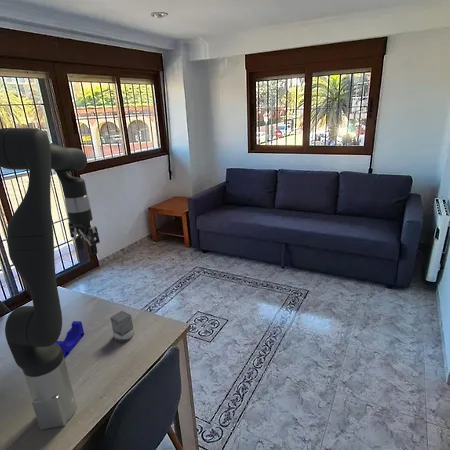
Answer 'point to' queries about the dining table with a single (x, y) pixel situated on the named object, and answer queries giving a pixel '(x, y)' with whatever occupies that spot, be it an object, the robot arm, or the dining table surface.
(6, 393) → the dining table surface
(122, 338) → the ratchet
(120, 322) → the grey paneled cube
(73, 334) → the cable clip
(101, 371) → the dining table surface
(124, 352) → the dining table surface
